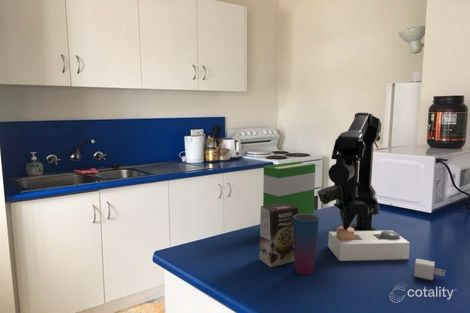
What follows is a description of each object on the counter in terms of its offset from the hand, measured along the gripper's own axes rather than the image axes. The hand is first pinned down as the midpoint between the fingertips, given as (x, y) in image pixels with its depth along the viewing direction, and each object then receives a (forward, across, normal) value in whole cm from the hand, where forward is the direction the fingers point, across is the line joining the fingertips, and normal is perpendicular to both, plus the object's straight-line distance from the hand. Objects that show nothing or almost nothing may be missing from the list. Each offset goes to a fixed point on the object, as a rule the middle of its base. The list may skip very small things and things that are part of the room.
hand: (345, 228), depth 112 cm
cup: (+8, +11, -15) cm, 20 cm away
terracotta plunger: (+6, 0, 0) cm, 6 cm away
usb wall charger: (+8, +17, +17) cm, 25 cm away
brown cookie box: (+8, +4, -21) cm, 23 cm away
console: (+8, 0, +7) cm, 10 cm away
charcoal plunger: (+7, 0, +14) cm, 16 cm away
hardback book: (+8, -20, -13) cm, 25 cm away
